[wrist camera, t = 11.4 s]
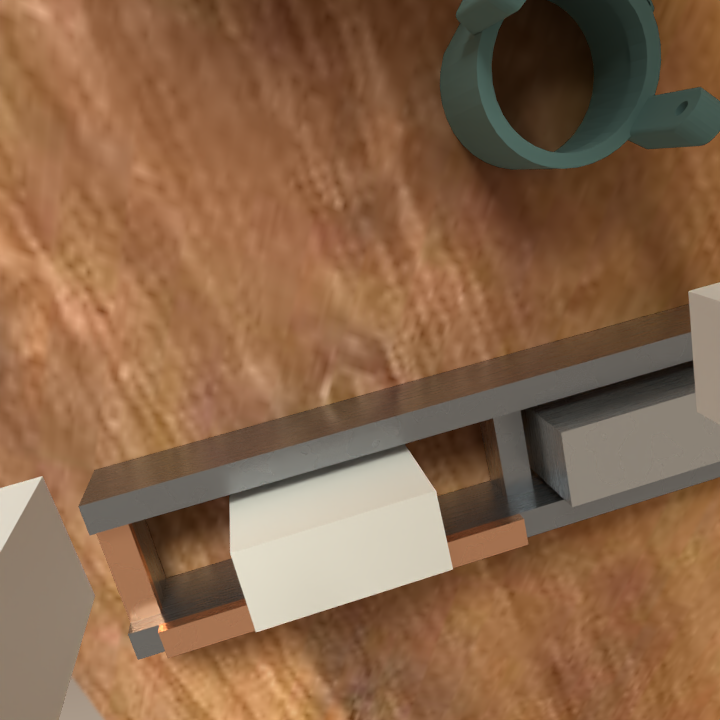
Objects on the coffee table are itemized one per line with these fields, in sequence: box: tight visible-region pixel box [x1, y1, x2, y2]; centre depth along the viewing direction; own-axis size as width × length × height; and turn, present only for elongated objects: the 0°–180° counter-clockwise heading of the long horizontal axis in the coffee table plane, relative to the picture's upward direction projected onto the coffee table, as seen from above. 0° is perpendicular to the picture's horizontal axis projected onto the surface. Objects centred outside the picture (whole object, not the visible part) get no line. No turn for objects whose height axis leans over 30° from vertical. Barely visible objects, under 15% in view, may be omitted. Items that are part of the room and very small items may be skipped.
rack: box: [79, 304, 720, 660], centre depth 35 cm, size 8×35×6 cm, turn 103°
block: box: [229, 444, 453, 632], centre depth 33 cm, size 4×9×8 cm, turn 103°
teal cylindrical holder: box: [440, 0, 720, 170], centre depth 29 cm, size 9×9×9 cm
